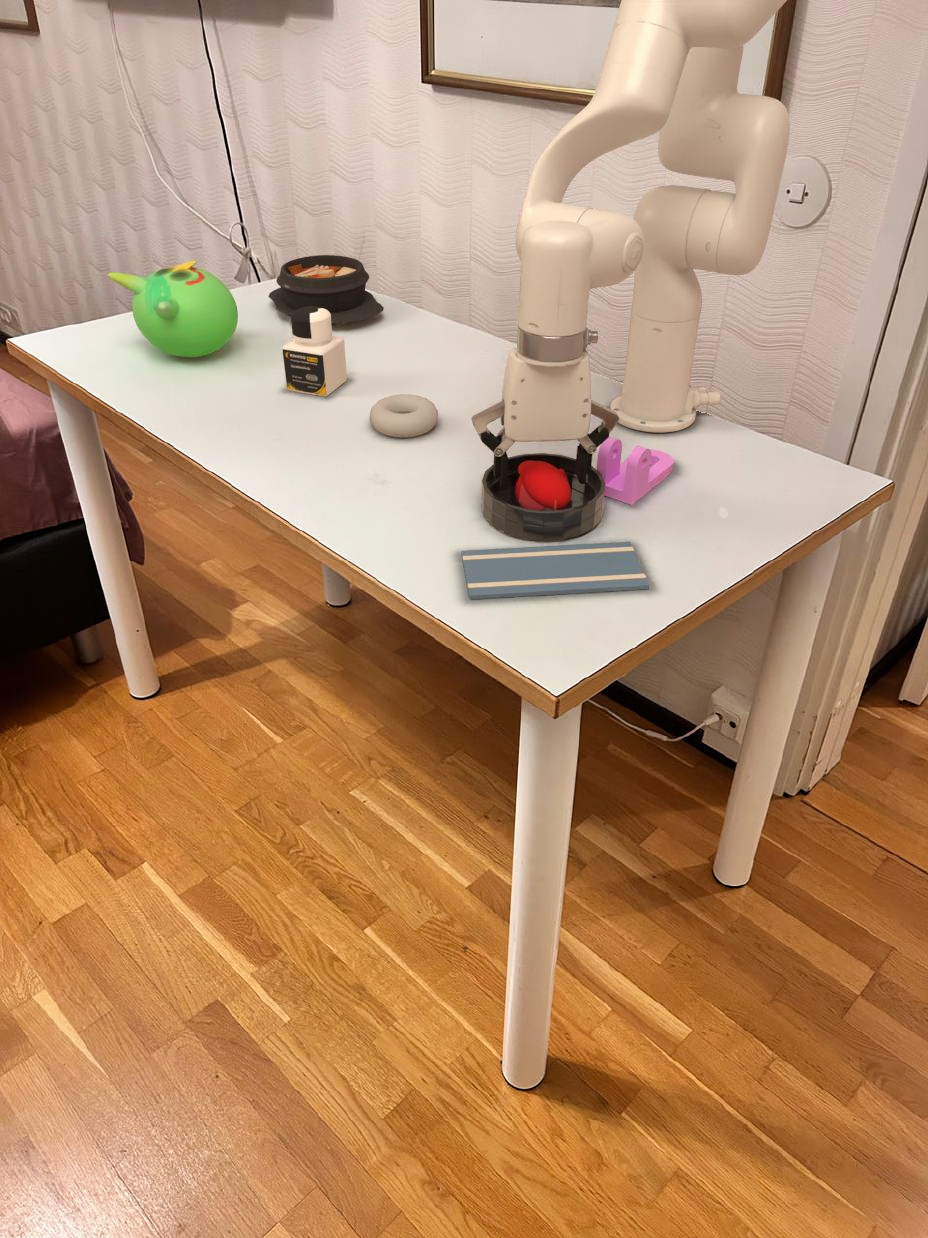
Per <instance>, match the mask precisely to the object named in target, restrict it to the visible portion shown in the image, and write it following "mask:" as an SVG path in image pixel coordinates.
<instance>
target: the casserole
mask: <svg viewBox="0 0 928 1238" xmlns="http://www.w3.org/2000/svg"><path fill="white" fill-rule="evenodd" d="M369 280H370V275H369V273H368V272H367V271H366V269H365V267H364V264H363V262H361V261H360V260H358V259H356V258H353V257H349V256H345V255H336V254H335V255H334V254H320V255H319V254H318V255H309V256H302V257H299V258H294V259H292V260H289V261H287V262H285V263H284V264H282V265H281V266H280V271H279V275H278V276H277V277H276V284H277V285H278V286H279V287H277V288H275V289H273V290H272V291H270V293H268V298H269V299H270V300H271V301H272V302H273V304H274V306H275V309H276V310H277V311H278V312H280V313H282V314H284V315H286V316H289V317H291V314H292V313H293V312H294V311H295V310H297V309H299V308H302V307H309V306H316V307H321V308H324V309H326V310H328V311H329V312H330V314H331V324H339V325H340V324H350V323H351V324H352V323H356V322H360V321H365V320H368V319H371V318H374V317H375V316H377V315H379V314H381V313H382V312H383V311H384V309H385V308H384V307H385V306H383V305H382V304H381V303H380V302H379V301H377V300H376V298H375V297H374V295H373V294H372V293H371V292H369V291H368V290H366V286H367V283H368V282H369Z"/></svg>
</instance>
